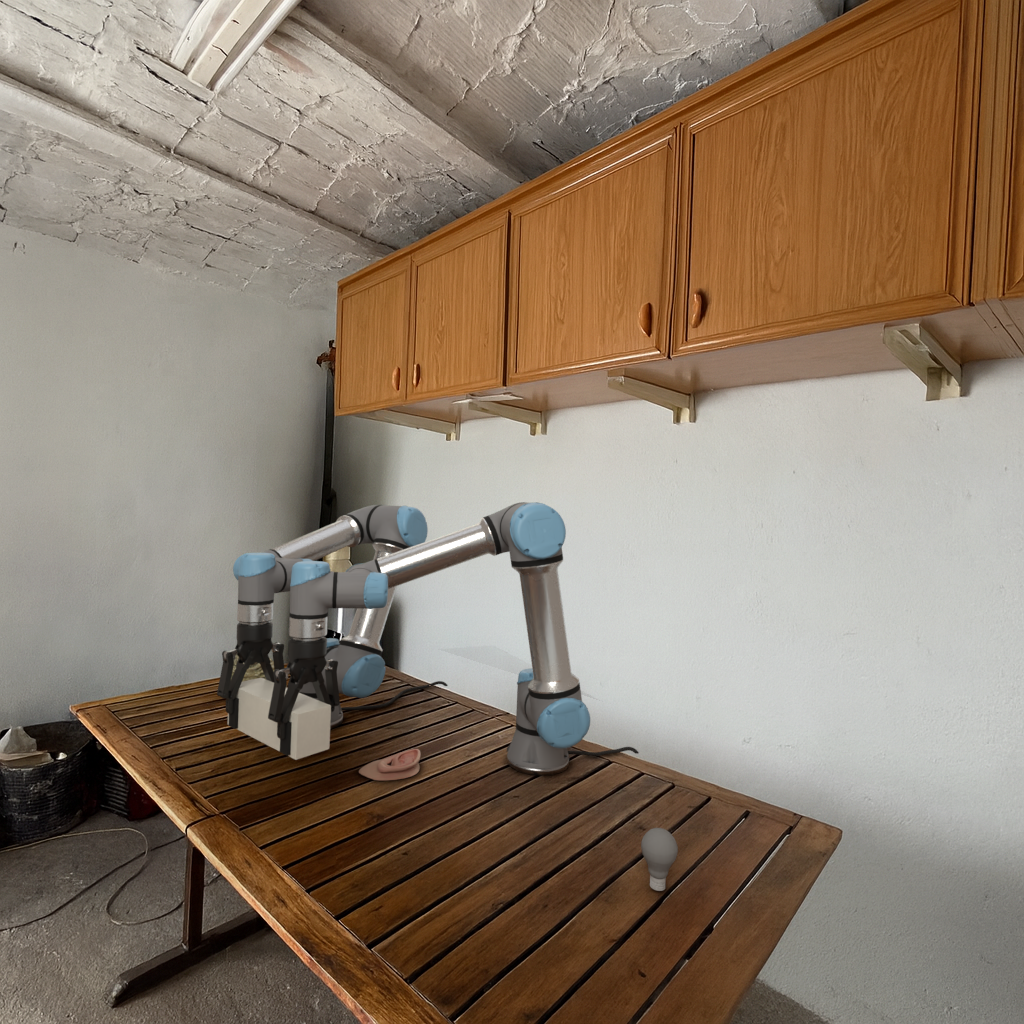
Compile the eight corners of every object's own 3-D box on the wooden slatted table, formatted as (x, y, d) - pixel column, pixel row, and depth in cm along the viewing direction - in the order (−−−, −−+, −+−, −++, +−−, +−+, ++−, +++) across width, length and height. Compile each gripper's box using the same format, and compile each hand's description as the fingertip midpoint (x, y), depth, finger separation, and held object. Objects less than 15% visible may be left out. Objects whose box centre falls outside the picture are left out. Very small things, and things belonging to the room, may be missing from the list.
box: (227, 724, 142) (228, 684, 142) (260, 716, 148) (261, 677, 148) (295, 760, 125) (297, 714, 125) (329, 748, 131) (331, 705, 131)
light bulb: (635, 878, 109) (637, 820, 109) (668, 878, 110) (671, 820, 109) (645, 900, 103) (648, 839, 103) (680, 900, 104) (683, 839, 103)
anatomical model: (353, 759, 143) (374, 741, 154) (352, 777, 143) (373, 757, 154) (408, 767, 140) (426, 748, 152) (408, 785, 140) (425, 764, 152)
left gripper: (217, 630, 132) (214, 738, 133) (305, 618, 148) (301, 715, 149) (200, 624, 137) (197, 729, 137) (287, 614, 153) (283, 707, 153)
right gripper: (271, 648, 119) (267, 768, 120) (360, 633, 135) (356, 738, 136) (250, 641, 124) (246, 756, 124) (339, 627, 140) (335, 729, 141)
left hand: (251, 722), depth 143 cm, fingers closed on box, 8 cm apart
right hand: (303, 747), depth 130 cm, fingers closed on box, 8 cm apart
